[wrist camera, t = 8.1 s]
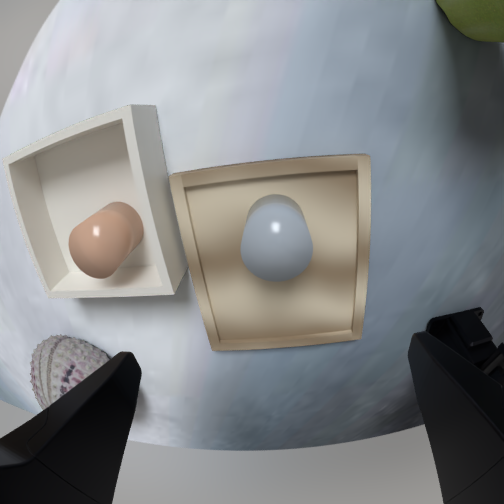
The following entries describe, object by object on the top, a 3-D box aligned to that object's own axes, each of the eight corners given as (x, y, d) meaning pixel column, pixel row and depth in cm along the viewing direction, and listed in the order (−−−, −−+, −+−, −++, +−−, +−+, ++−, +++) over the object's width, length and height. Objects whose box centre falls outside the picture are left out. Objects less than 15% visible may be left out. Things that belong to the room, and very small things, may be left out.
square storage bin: (188, 265, 21) (174, 294, 17) (70, 275, 22) (48, 298, 19) (155, 105, 16) (130, 104, 13) (33, 149, 17) (2, 158, 14)
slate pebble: (306, 245, 19) (313, 278, 15) (250, 251, 19) (245, 284, 16) (302, 191, 17) (311, 212, 14) (242, 197, 18) (235, 219, 14)
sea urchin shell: (28, 337, 27) (-4, 381, 20) (86, 310, 24) (43, 370, 16) (95, 407, 32) (75, 452, 25) (167, 399, 29) (149, 459, 21)
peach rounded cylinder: (149, 247, 19) (125, 277, 16) (107, 252, 20) (80, 280, 16) (136, 197, 18) (107, 218, 14) (93, 206, 18) (61, 227, 15)
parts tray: (358, 330, 22) (361, 339, 22) (214, 342, 24) (212, 350, 23) (365, 153, 16) (370, 156, 16) (173, 173, 18) (168, 176, 17)
